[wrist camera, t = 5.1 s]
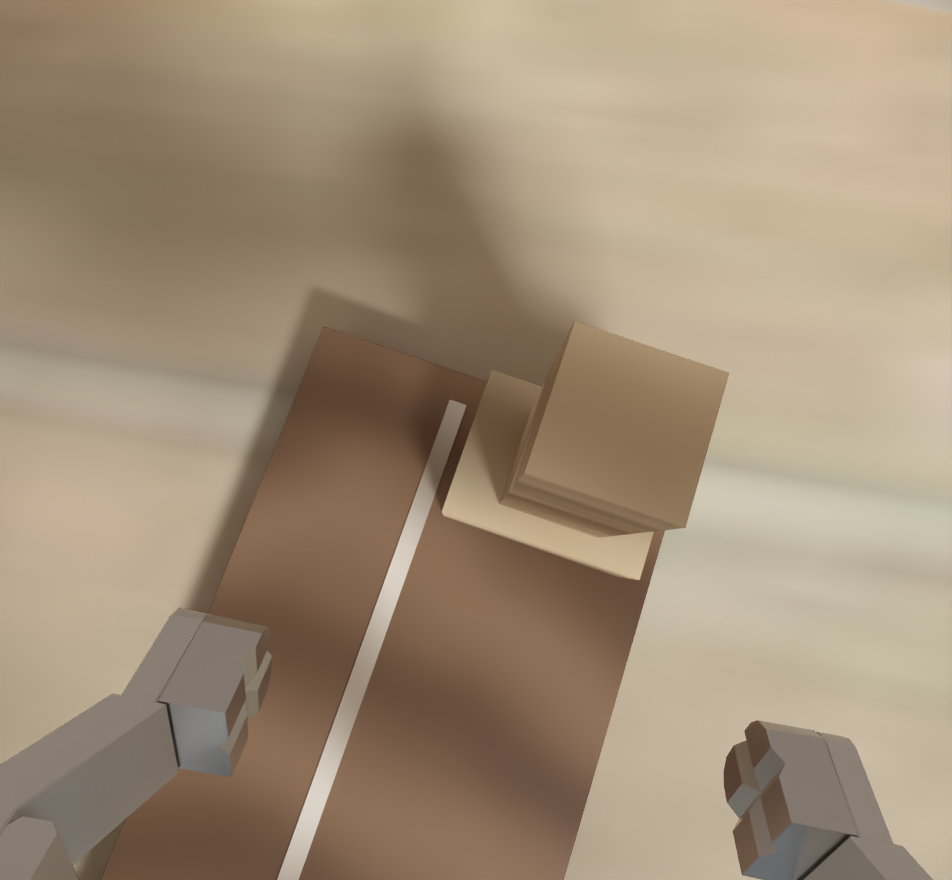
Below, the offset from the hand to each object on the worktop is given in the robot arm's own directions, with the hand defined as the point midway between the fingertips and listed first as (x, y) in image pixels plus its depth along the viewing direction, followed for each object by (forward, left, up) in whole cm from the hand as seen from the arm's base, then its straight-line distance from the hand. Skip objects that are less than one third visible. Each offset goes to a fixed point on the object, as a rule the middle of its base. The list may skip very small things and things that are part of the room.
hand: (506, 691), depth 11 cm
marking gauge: (+5, -1, -10) cm, 11 cm away
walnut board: (-3, +2, -12) cm, 12 cm away
